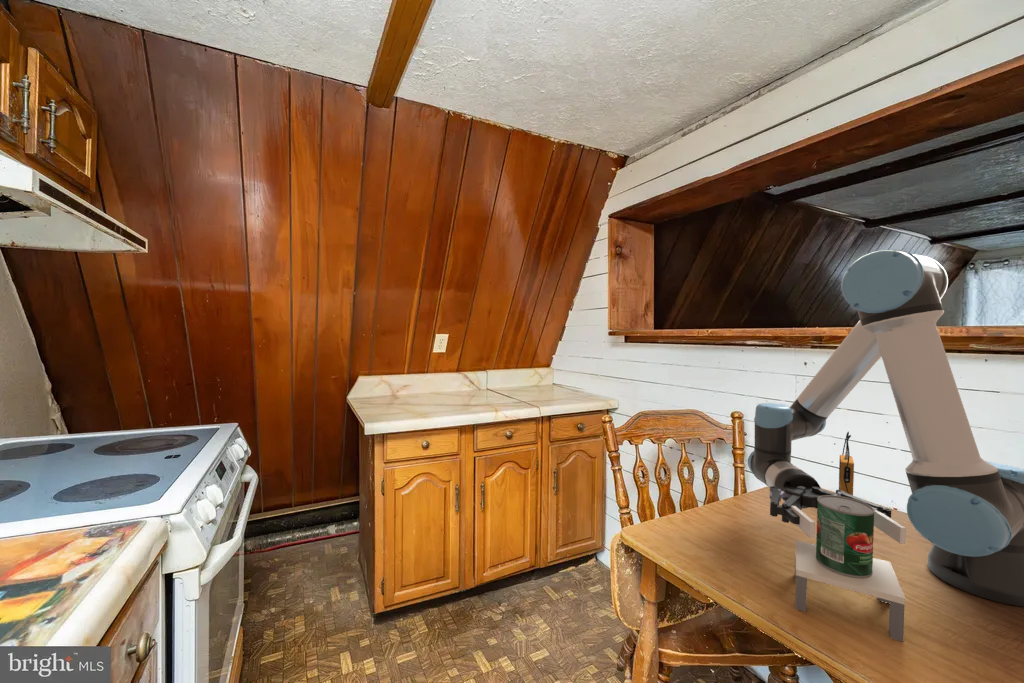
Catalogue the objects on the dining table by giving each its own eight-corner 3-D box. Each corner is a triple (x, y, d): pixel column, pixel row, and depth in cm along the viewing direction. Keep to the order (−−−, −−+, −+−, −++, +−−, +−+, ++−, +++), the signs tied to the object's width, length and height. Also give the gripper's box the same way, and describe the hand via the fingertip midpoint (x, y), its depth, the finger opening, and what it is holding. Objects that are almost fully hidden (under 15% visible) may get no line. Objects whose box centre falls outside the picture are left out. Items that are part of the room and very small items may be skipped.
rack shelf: (888, 599, 75) (890, 561, 75) (903, 642, 65) (905, 598, 65) (794, 574, 83) (795, 539, 83) (795, 608, 73) (796, 569, 73)
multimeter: (806, 490, 125) (808, 423, 124) (850, 498, 119) (852, 428, 118) (806, 507, 113) (808, 434, 112) (853, 517, 107) (856, 440, 106)
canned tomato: (817, 548, 79) (818, 491, 79) (872, 563, 74) (874, 502, 74) (813, 567, 73) (815, 505, 73) (873, 584, 68) (875, 518, 68)
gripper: (855, 505, 89) (941, 560, 68) (731, 498, 93) (776, 549, 72) (856, 470, 89) (943, 515, 68) (731, 465, 93) (776, 506, 72)
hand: (857, 532), depth 70 cm, fingers open, 13 cm apart
